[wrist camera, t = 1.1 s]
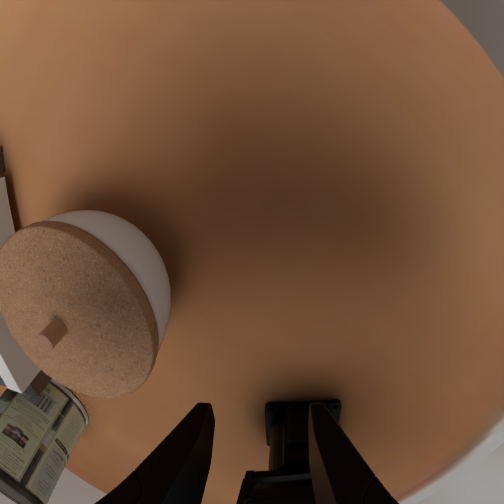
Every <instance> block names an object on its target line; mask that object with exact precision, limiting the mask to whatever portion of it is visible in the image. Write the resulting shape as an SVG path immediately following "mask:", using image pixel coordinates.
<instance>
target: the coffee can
mask: <svg viewBox="0 0 504 504" xmlns="http://www.w3.org/2000/svg"><path fill="white" fill-rule="evenodd" d="M87 425H88V415H87V413H86V410H85V409H84V407H83V405H82V404H81V403H80V401H79V400H78V399H77V398H76V397H75V395H74V394H73V393H72V392H71V391H70V390H69V389H68V388H67V387H65V386H64V385H62V384H60V383H58V382H57V381H55V380H54V379H51V381H50V382H49V383H48V385H47V386H46V387H45V389H44V390H43V391H42V393H41V394H40V396H39V397H35V396H32V395H29V394H26V393H19V392H16V391H13V390H10V389H8V388H7V390H6V391H5V392H4V393H3V394H2V396H1V397H0V492H1V493H2V494H4V495H5V496H7V497H8V498H9V499H11V500H12V501H14V502H16V503H17V504H47V503H48V501H49V498H50V496H51V494H52V492H53V490H54V488H55V486H56V484H57V481H58V479H59V477H60V475H61V473H62V471H63V469H64V467H65V465H66V463H67V461H68V459H69V457H70V455H71V453H72V452H73V450H74V448H75V446H76V444H77V442H78V440H79V438H80V436H81V434H82V432H83V430H84V429H85V427H86V426H87Z"/></svg>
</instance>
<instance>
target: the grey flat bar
mask: <svg viewBox="0 0 504 504" xmlns="http://www.w3.org/2000/svg"><path fill="white" fill-rule="evenodd" d="M14 233H15V229H14V225H13V220H12V216H11V211H10V205H9V200H8V194H7V188H6V182H5V177H1V178H0V251H1V249H2V247H3V245H4V244H5V242H6V241H7V239H8V238H9V237H10V236H11V235H13V234H14ZM40 371H41V369H40V368H39V367H37V366H36V365H35V364H34V363H33V362H32V361H31V360H30V359H29V358H28V356H27V355H26V354H25V353H24V351H23V350H22V349H21V348H20V346H19V345H18V343H17V342H16V341H15V339H14V338H13V336H12V334H11V332H10V331H9V329H8V327H7V325H6V323H5V320H4V318H3V316H2V313H1V310H0V376H1V378H2V379H3V381H4V383H5V385H6V386H7V388H8V389H10V390H13V391H16V392H19V393H23V392H24V391H25V390H26V388H27V387H28V386H29V384H30V383H31V382H32V381H33V379H34V378H35V377H36V376H37V374H38V373H39V372H40Z"/></svg>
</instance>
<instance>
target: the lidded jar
mask: <svg viewBox="0 0 504 504" xmlns="http://www.w3.org/2000/svg"><path fill="white" fill-rule="evenodd" d="M170 307H171V288H170V282H169V278H168V273H167V270H166V267H165V264H164V262H163V260H162V258H161V256H160V254H159V252H158V250H157V249H156V248H155V246H154V245H153V243H152V242H151V241H150V240H149V239H148V237H147V236H146V235H145V234H144V233H143V232H142V231H141V230H139V229H138V228H137V227H136V226H135V225H133V224H132V223H130V222H128V221H127V220H125V219H123V218H121V217H119V216H116V215H114V214H111V213H107V212H102V211H98V210H77V211H71V212H66V213H62V214H58V215H55V216H53V217H50V218H48V219H46V220H43V221H41V222H36V223H33V224H31V225H28V226H26V227H24V228H22V229H20V230H18V231H16V232H15V233H14V234H13V235H11V236H10V237H9V238H8V239H7V241H6V242H5V244H4V245H3V247H2V249H1V251H0V310H1V313H2V316H3V318H4V320H5V323H6V325H7V327H8V329H9V331H10V332H11V334H12V336H13V338H14V339H15V341H16V342H17V343H18V345H19V346H20V348H21V349H22V350H23V351H24V353H25V354H26V355H27V356H28V358H29V359H30V360H31V361H32V362H33V363H34V364H35V365H36V366H37V367H39V368H40V369H41V370H42V371H43V372H44V373H46V374H47V375H48V376H50V377H51V378H52V379H54V380H55V381H57V382H58V383H60V384H62V385H64V386H65V387H67V388H69V389H72V390H74V391H76V392H79V393H82V394H85V395H88V396H93V397H99V398H115V397H121V396H124V395H127V394H130V393H132V392H134V391H135V390H137V389H138V388H140V387H141V386H142V385H143V384H144V382H145V381H146V380H147V378H148V376H149V375H150V373H151V371H152V369H153V367H154V364H155V361H156V357H157V354H158V351H159V349H160V347H161V344H162V342H163V339H164V336H165V332H166V329H167V326H168V322H169V316H170Z"/></svg>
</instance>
